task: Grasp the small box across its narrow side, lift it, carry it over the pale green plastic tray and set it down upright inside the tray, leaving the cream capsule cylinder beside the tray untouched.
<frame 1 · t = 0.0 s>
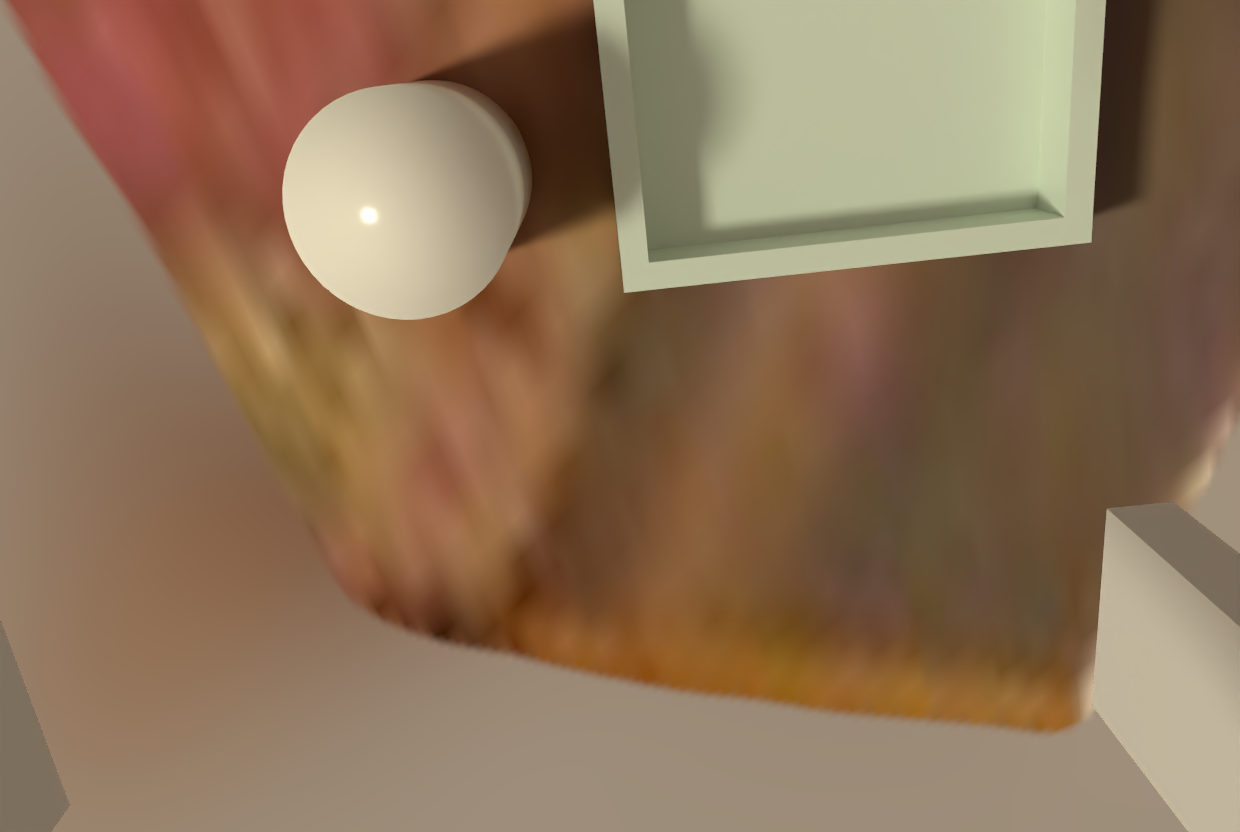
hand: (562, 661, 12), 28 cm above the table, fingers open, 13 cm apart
cream capsule cylinder: (440, 177, 37), on the table
tray: (832, 77, 36), on the table
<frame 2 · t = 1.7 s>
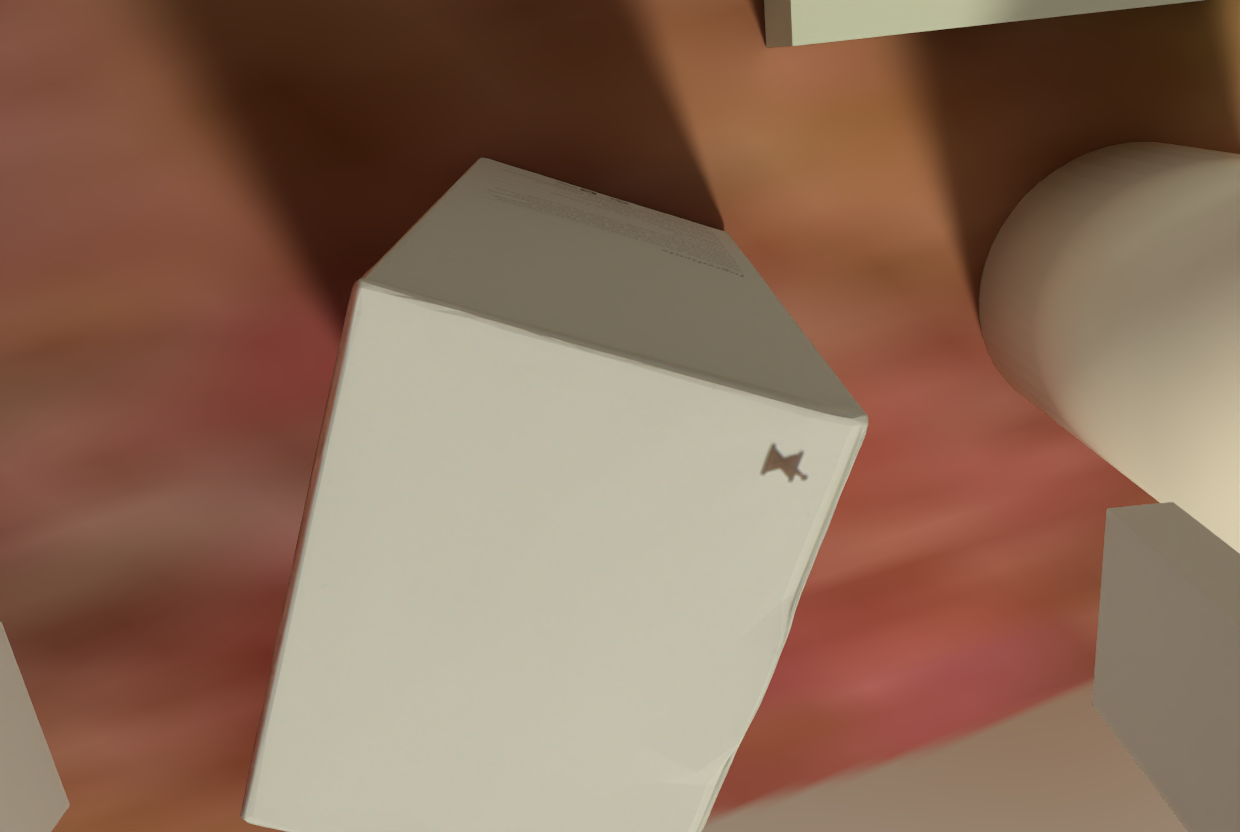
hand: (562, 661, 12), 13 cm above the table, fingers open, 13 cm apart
small box: (560, 345, 25), on the table
cream capsule cylinder: (1118, 286, 24), on the table
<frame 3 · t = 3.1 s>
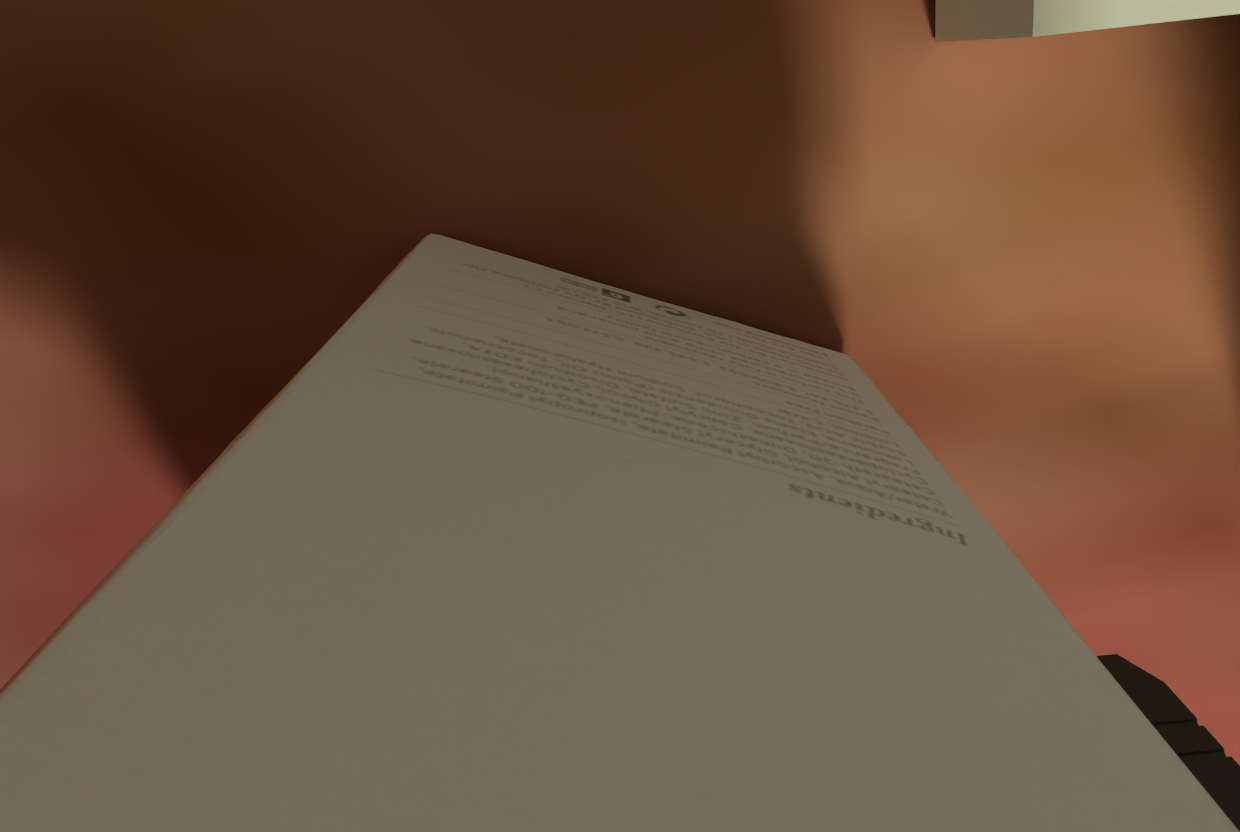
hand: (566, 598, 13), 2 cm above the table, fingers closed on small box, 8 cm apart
small box: (568, 531, 15), on the table, touching gripper
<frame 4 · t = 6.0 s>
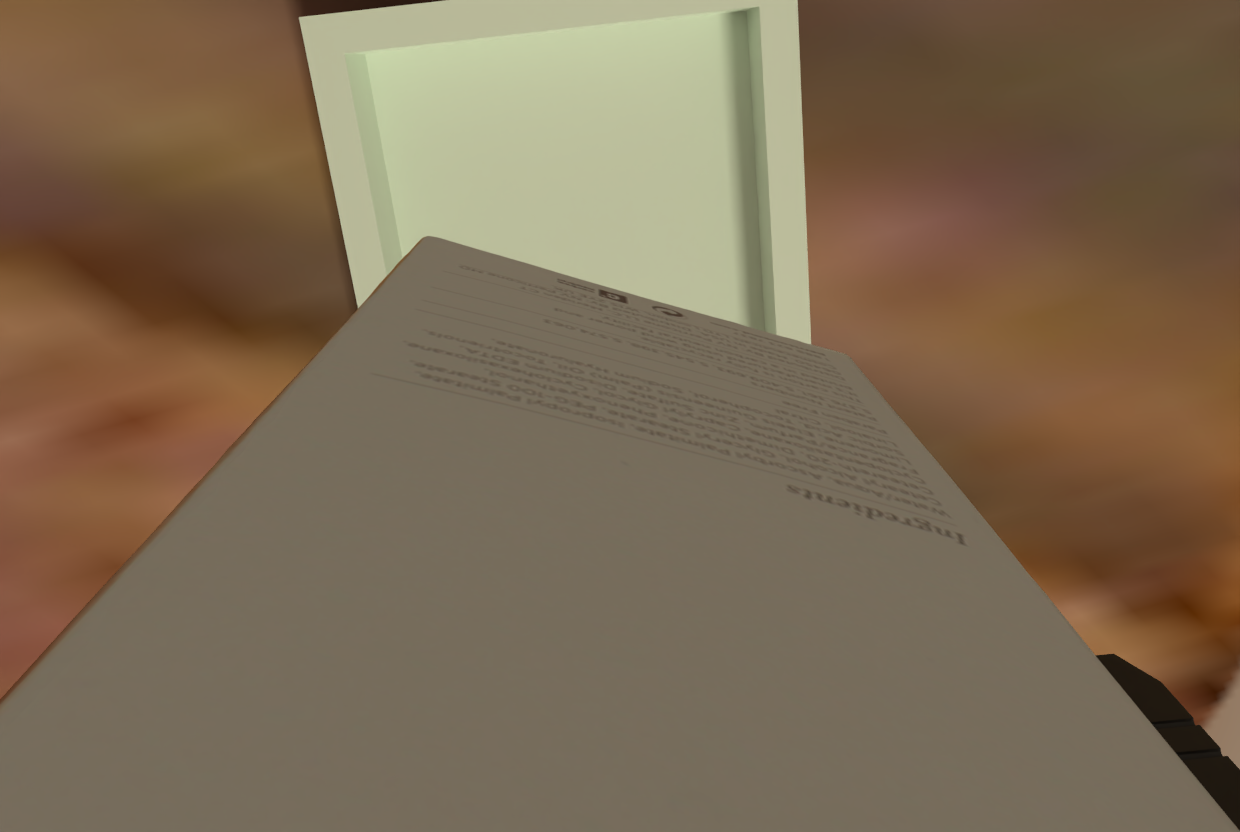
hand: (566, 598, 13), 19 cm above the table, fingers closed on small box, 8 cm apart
small box: (567, 532, 15), point 17 cm above the table, touching gripper
tray: (586, 284, 31), on the table
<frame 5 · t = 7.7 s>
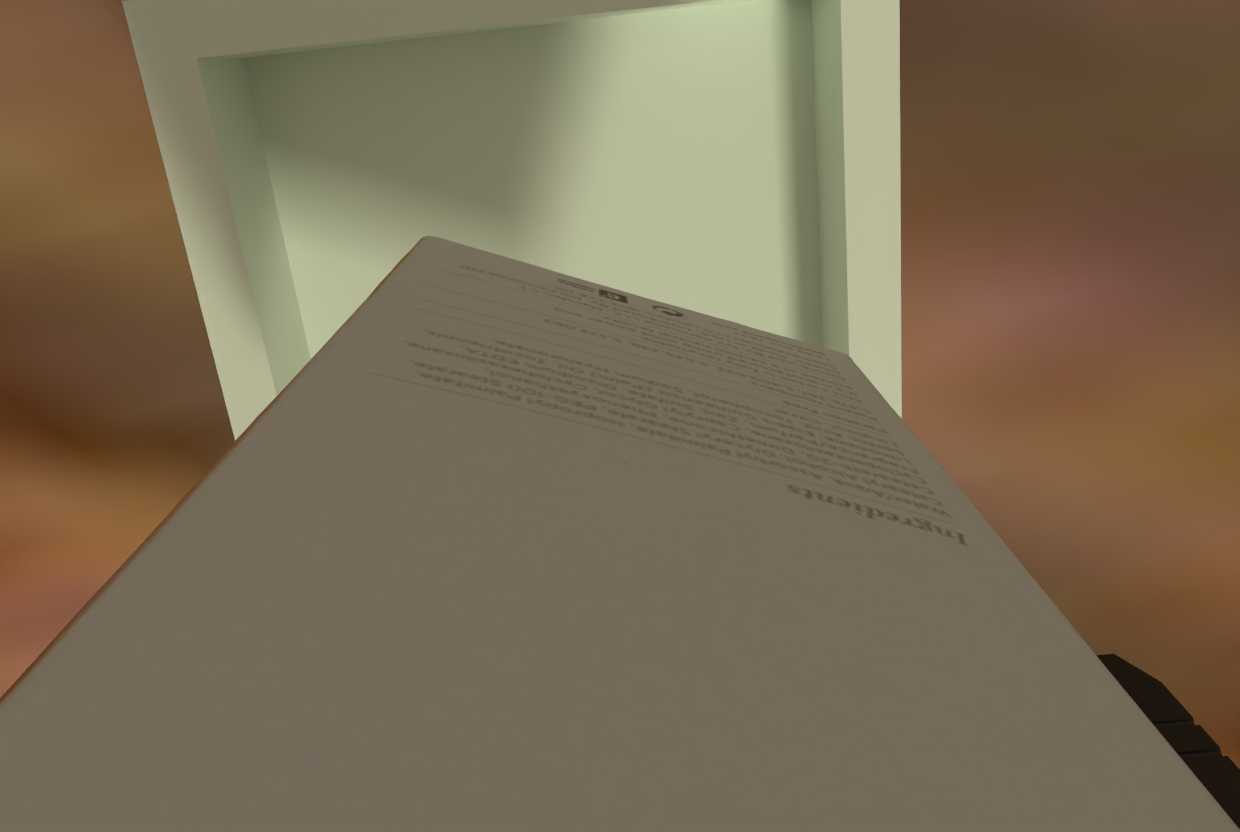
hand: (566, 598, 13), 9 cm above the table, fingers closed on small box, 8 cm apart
small box: (567, 532, 15), point 7 cm above the table, touching gripper
tray: (573, 384, 22), on the table
when the fingers open (4 cm above the table, at t = 9.2 s): small box drops 1 cm, resting on tray.
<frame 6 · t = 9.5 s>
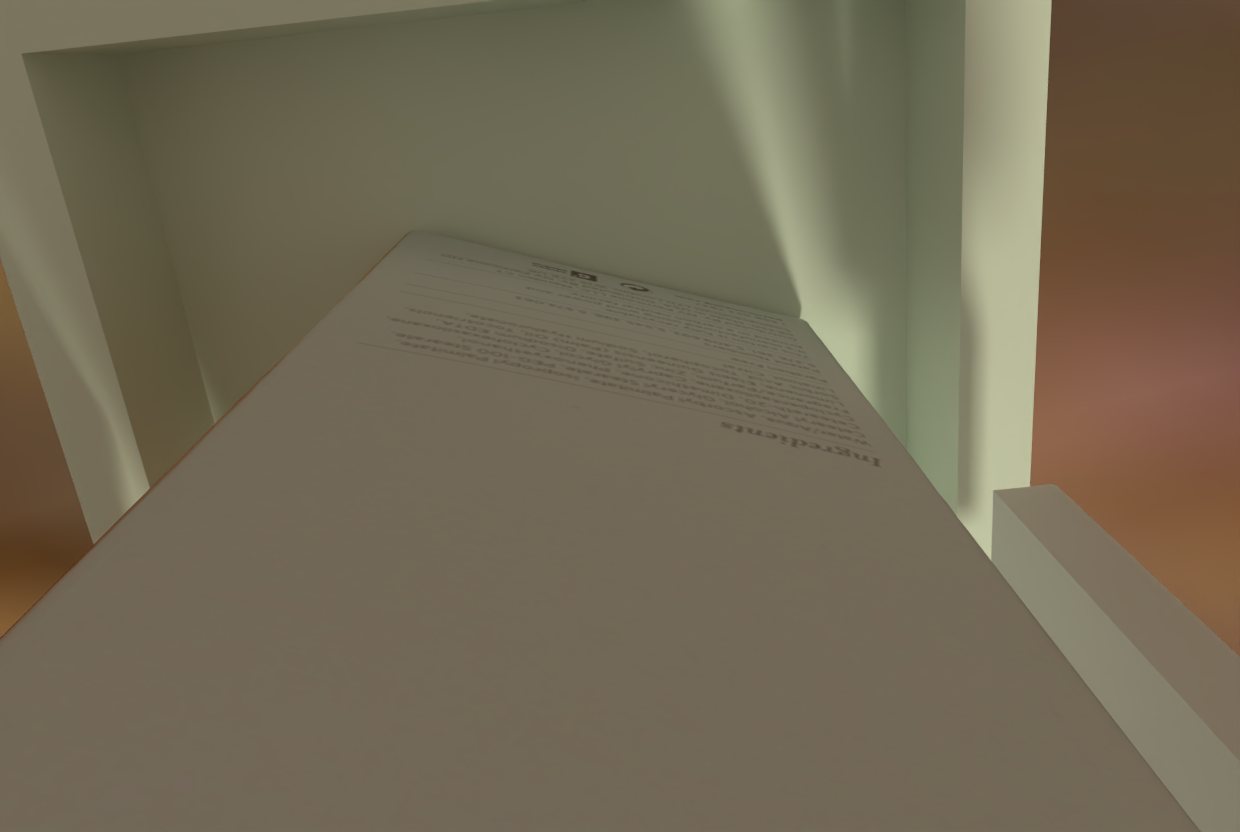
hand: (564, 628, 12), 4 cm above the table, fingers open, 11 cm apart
small box: (558, 498, 16), resting on tray
tray: (574, 485, 17), on the table
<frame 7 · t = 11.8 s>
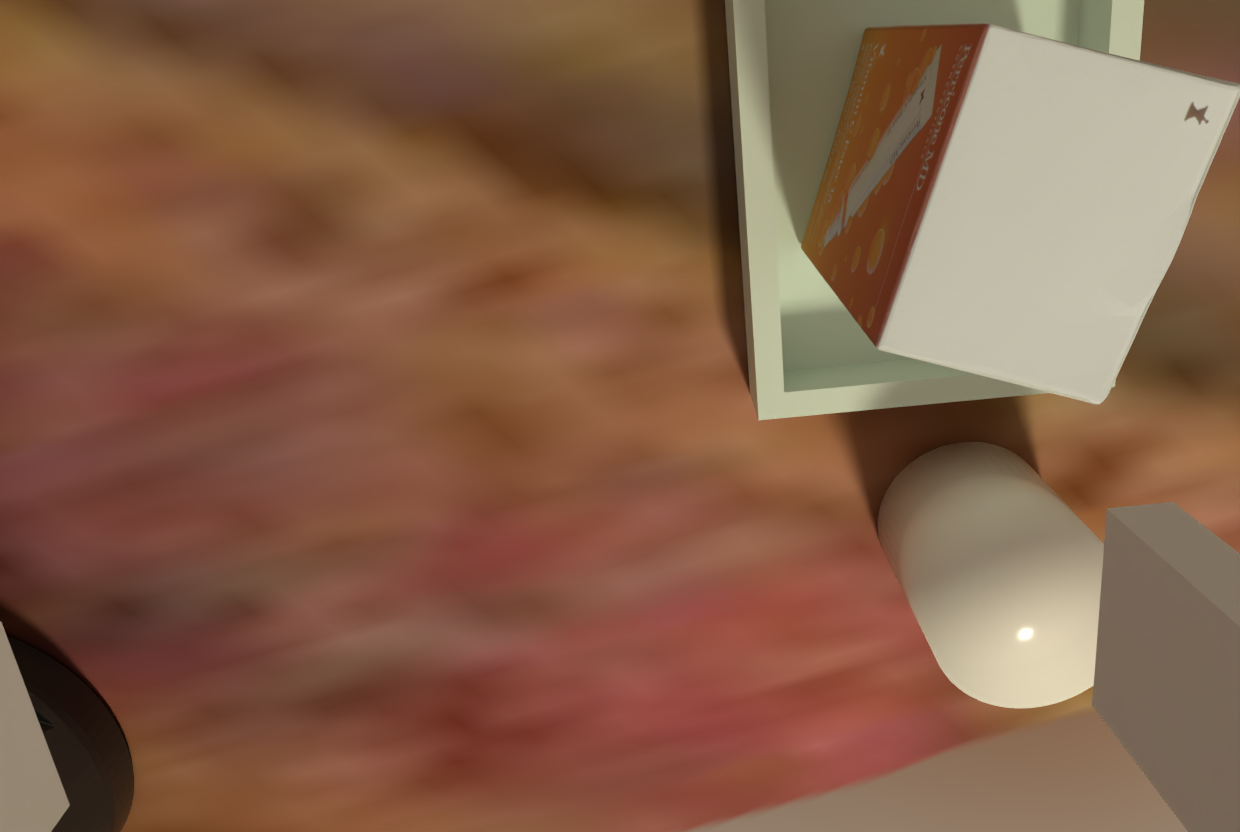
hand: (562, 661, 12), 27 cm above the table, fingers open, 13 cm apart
small box: (909, 161, 35), resting on tray
cream capsule cylinder: (961, 518, 41), on the table
tray: (913, 159, 36), on the table
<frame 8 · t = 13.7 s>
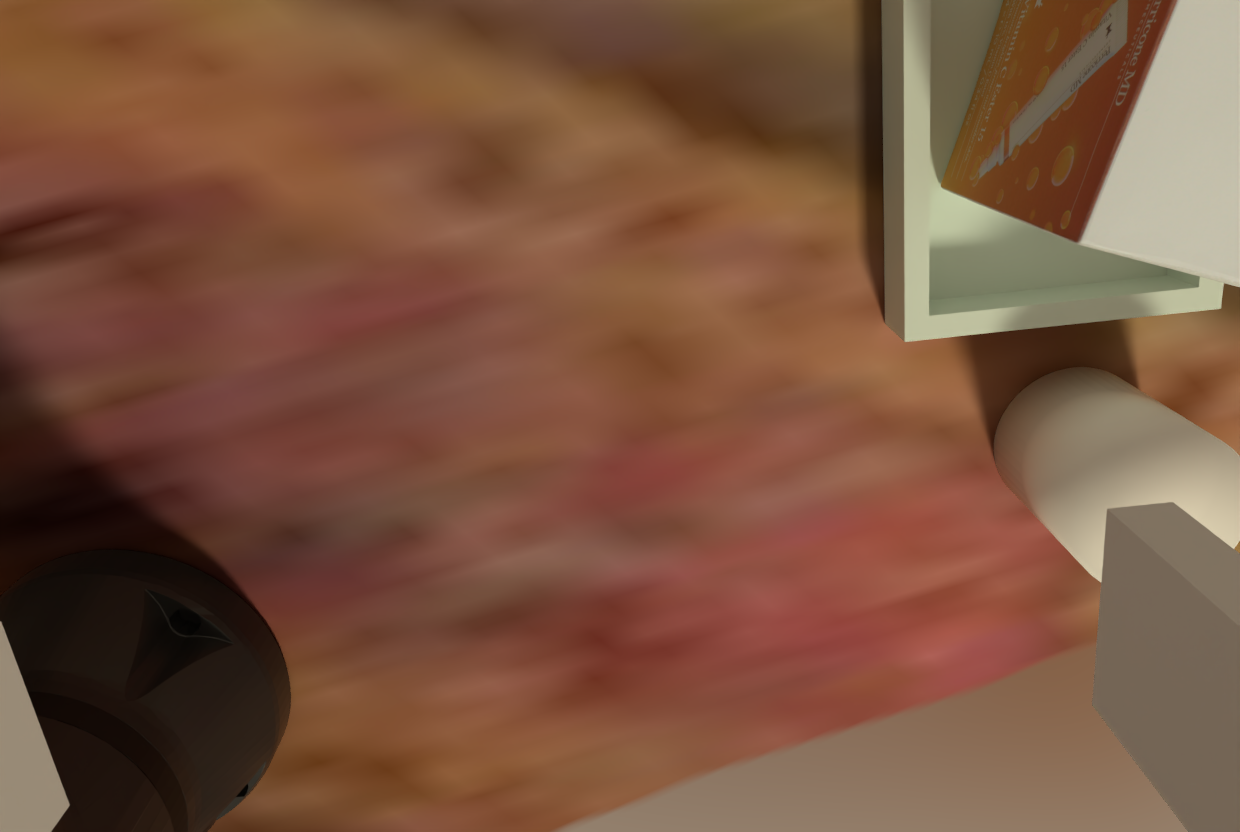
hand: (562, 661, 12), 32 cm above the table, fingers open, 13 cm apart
small box: (1038, 108, 40), resting on tray
cream capsule cylinder: (1069, 439, 45), on the table
tray: (1040, 107, 40), on the table
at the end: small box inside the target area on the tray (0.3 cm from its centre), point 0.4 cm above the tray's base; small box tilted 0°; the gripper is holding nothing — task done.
